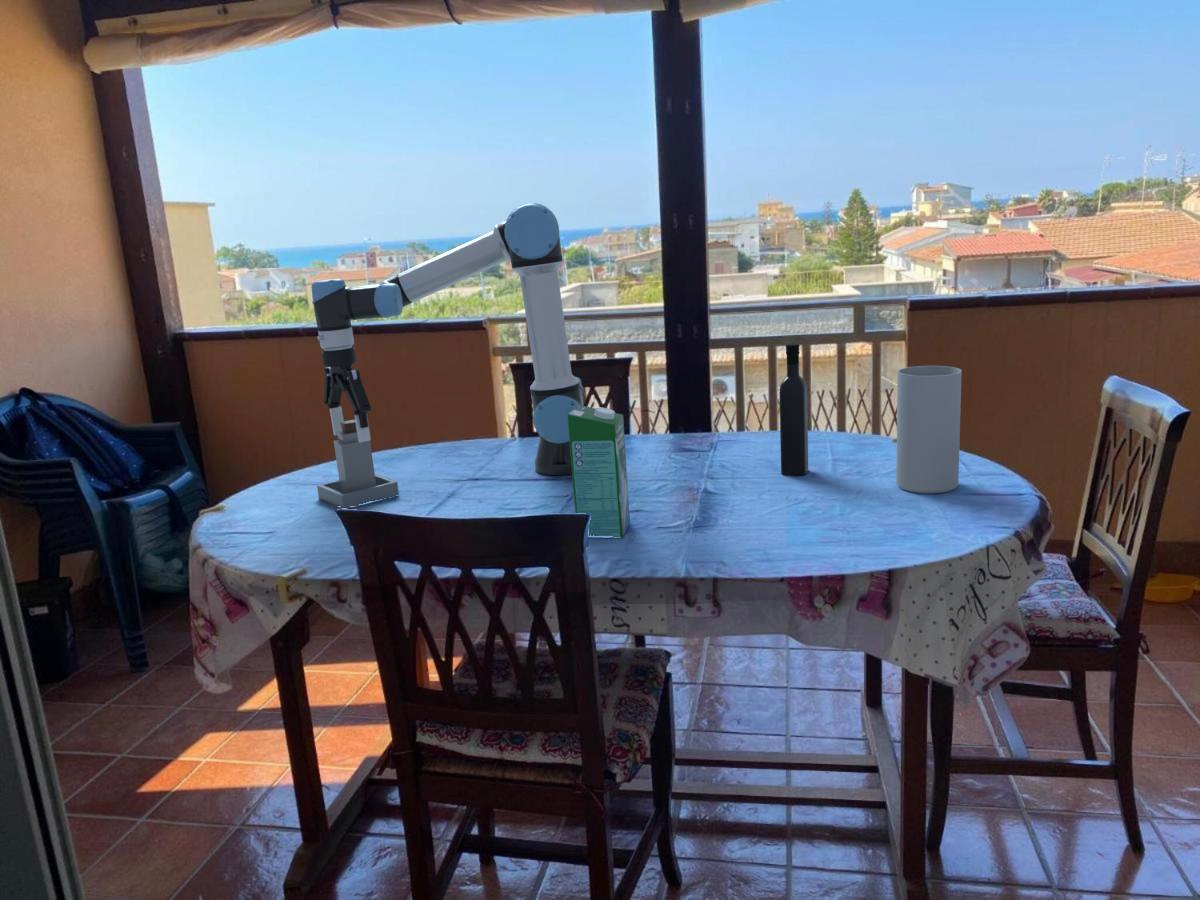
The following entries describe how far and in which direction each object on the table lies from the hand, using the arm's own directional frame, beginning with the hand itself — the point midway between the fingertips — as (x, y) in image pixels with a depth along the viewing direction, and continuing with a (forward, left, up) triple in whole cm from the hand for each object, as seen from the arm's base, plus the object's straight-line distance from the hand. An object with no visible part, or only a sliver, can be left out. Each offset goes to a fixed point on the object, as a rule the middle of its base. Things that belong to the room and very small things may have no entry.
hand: (352, 437), depth 212 cm
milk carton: (-65, -22, -15) cm, 70 cm away
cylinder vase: (-98, -85, -15) cm, 130 cm away
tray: (0, 0, -15) cm, 15 cm away
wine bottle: (-69, -77, -15) cm, 104 cm away
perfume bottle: (0, 0, -14) cm, 14 cm away
